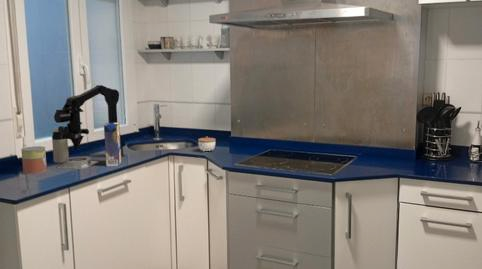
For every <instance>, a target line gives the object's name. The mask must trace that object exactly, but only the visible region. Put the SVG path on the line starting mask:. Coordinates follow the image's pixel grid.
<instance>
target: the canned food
mask: <svg viewBox="0 0 482 269" xmlns="http://www.w3.org/2000/svg"><path fill="white" fill-rule="evenodd" d="M20 150H21V157H22V158H21V162H22V170H23V171H22V173H23V174H26V175H36V174H42V173H46V172H47V171H48V169H47V168H48V167H47V157H46V153H47V152H46V147H45V146H41V145H40V146H35V145H34V146H27V147H23V148H21V149H20Z"/></svg>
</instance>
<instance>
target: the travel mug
mask: <svg viewBox="0 0 482 269" xmlns="http://www.w3.org/2000/svg"><path fill="white" fill-rule="evenodd" d="M51 132H52V136H51V141H52V154H53V163H55V164H64V160H65V159H67V158H70V157H69V144H68V143H69V142H68V141H69V139H62V138H61V135H62V134H61V133H59V132H58V128H57V129H53V130H52V131H51Z"/></svg>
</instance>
